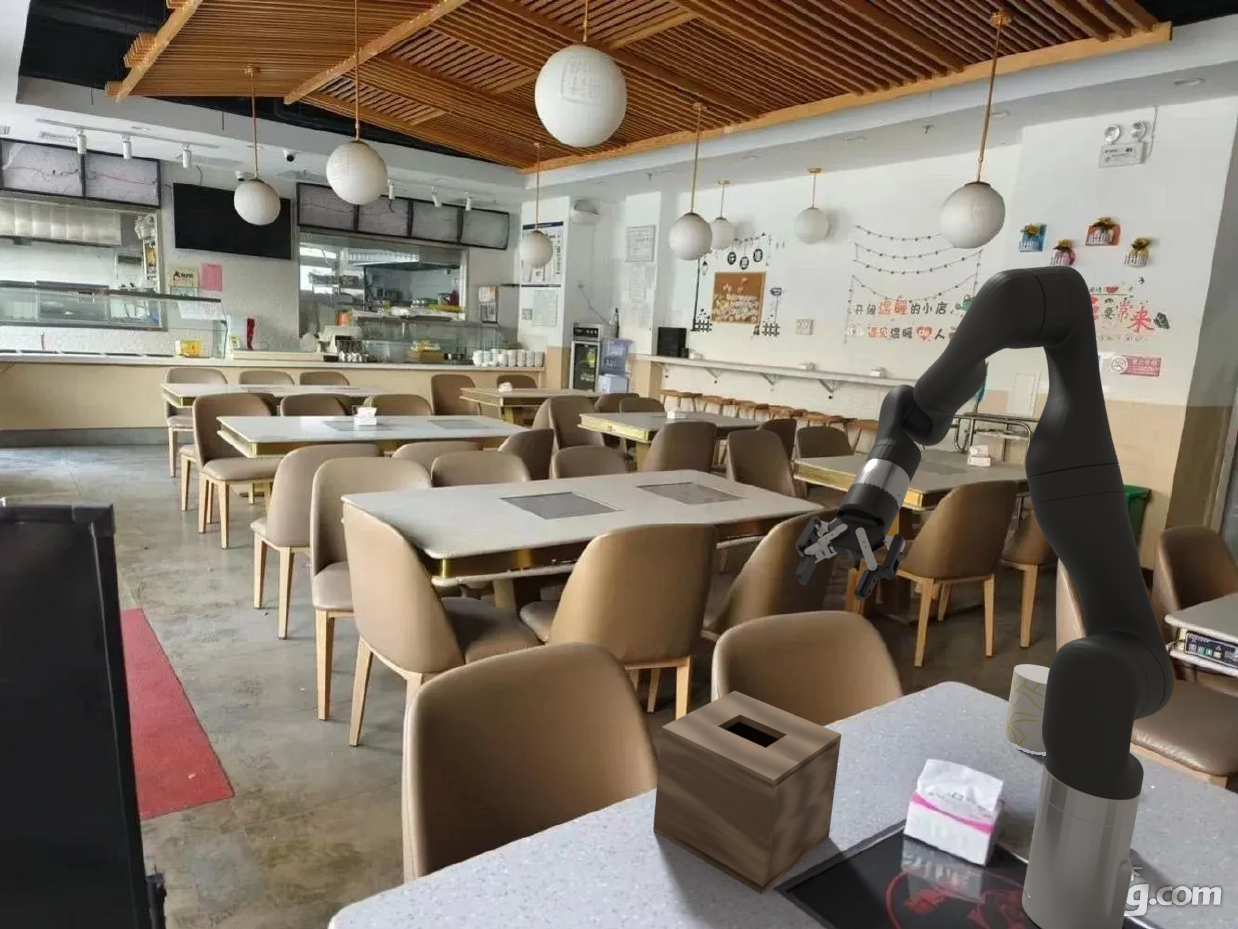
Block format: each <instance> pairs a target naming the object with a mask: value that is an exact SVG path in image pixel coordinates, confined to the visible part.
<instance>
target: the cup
mask: <svg viewBox="0 0 1238 929" xmlns="http://www.w3.org/2000/svg"><path fill="white" fill-rule="evenodd" d="M1049 669H1050V667H1047V666H1044V665H1043V666H1042V665H1037V664H1028V663H1024V664H1023V663H1022V664H1017V665H1015V666H1014V668H1013V674H1012V679H1011V686H1010V692H1009V693H1010V694H1009V698H1008V705H1007V712H1006V719H1005V724H1004V730H1003V736H1004V735H1005V737H1006V738H1007V739H1008V740H1009V741H1010V742H1011V743H1014V744H1017V745H1018V746H1020V747H1022V748H1025V749H1028V750H1030V751H1035V752H1046V750H1045V746H1044V743H1043V738H1042V722H1043V713H1044V704H1045V694H1046V686H1047V679H1048V673H1049Z"/></svg>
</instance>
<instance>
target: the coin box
mask: <svg viewBox="0 0 1238 929" xmlns="http://www.w3.org/2000/svg"><path fill="white" fill-rule="evenodd" d="M660 731H661V732H660V742H659V743H660V745H659V758H658V768H657V778H656V780H657V782H656V791H655V805H654V817H653V827H652V829H653V831H654V832H655V833H657V834H658V835H660V836H662V837H664V838H666V839H667V840H668V841H671V842H672V843H674V844H675V845H677V846H679V847H681V848H682V849H685V851H687V852H689V853H691V854H692V855H694V856H696V857H697V858H699V859H701V860H702V861H705V862H706V863H708V864H710V865H711V866H713V867H715V868H716V869H718V870H720V872H721V871H722V872H723V873H725V874H727V875H728V876H730V877H731V878H734V879H735V880H736V881H738V882H740V883H742V884H744V885H746V886H747V887H748V888H750V889H752V890H754V891H755V892H757V893H759V894H760V895H762V894H763V893H765V892H766V891H767V890H768V889H769V888H770V887H772V886H773V885H774V884H775V883H777V882H778V881H779V880H780V879H781V878H782V877H783V876H784V875H786V874H787V873H788V872H789V871H790V870H792V869H793V868H794V867H795V866H796V865H797V864H798V863H800V862H801V861H802V860H803V859H804V858H805V857H806V856H808V855H809V854H810V853H812V852H813V851H814V850H815V849H816V848H817V847H818V846H819V845H820V844H822V843H823V842H824V841H825V840H826V839H827V838H828V837H830V830H831V822H832V815H833V813H832V812H833V807H834V797H835V789H836V782H837V780H836V779H837V774H838V773H837V771H838V765H839V757H840V756H839V755H840V749H841V748H840V747H841V741H842V740H841V739H842V733H840V732H837V731H835V730H832V729H830V728H828V727H825V726H822V725H820V724H818V723H815V722H813V721H810V720H808V719H805V718H803V717H800V716H797V715H795V714H793V713H791V712H788V711H786V710H783V709H782V708H781V709H780V708H778V707H775V706H773V705H771V704H768V703H766V702H764V701H762V700H759V699H756V698H755V697H751V696H749V695H747V694H744V693H742V692H740V691H736V690H734V691H732V692H730V693H727V694H726V695H723V696H722V697H719V698H717V699H715V700H713V701H711V702H709V703H707V704H705V705H703V706H701V707H699V708H697V709H695V710H693V711H691V712H688V713H686V714H685V715H683V716H681V717H679V718H677V719H675V720H672V721H671V722H669V723H667V724H665V725H662V726H661V730H660Z"/></svg>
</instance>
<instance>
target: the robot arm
mask: <svg viewBox="0 0 1238 929" xmlns="http://www.w3.org/2000/svg"><path fill="white" fill-rule="evenodd" d="M963 315H964V316H962V319H961V321H960V322H959V324H958V326H957V327H956V329H955V331H954V334H953V336H951V339H950V340H949V343H948V344H947V345H946V348H945V349H944V351H943V352H942V353H941V354H940V355H939V356H938V358H937V359H936V360H935V361H934V362H933V363H932V364H931V365H930V366H929V367H928V368H927V369H926V371H924V372H923V373H922V375H921V376H920V377H919V378H918V379H917V381H916V382H915V384H914V386H912V385H909V384H906V383H905V384H899V385H896V386H894V387H892V388H891V389H890V390H889V391H888V392H887V394H885V396H884V398H883V400H882V402H881V406H880V409H879V416H878V424H877V432H876V436H875V440H874V443H873V445H872V447H871V450H870V452H869V454H868V455H867V458H866V460H865V461H864V463H863V465H862V466H861V467H860V469H859V471H857V474H855V477H854V478H853V481H852V483H851V484H850V486H849V489H848V490H847V492H846V494H845V496H844V498H843V499H842V502H840V505H839V508H838V510H837V513H836V515H835V518H834V519H832V521H829V522H827V521H823V520H821V519H820V517H819V516H818V515H814V516H812V517H811V518H810V520H809V521H808V523H807V524H806V526H805V528H804V530H802V533H801V534H800V536H799V538H798V539H797V540H796V542H795V545H794V546H795V548H796V550H797V552H798V555H799V556H800V557H801V558H802V559H801V560H800V563H799V565H798V566H797V568H796V570H795V575H796V578H797V581H798V583H799V585H803V586H806V585H807V584H808V583H809V580H810V578H811V576H812V574H813V572H814V570H815V569H816V567H817V565H816V564H817V563H819V562H821V561H822V560H824V559H831V558H832V557H834V556H836V555H837V556H840V557H845V558H846V557H847V558H848V557H849V558H851V559H853V560H855V561H860V560H862V559H864V560H865V563H866V565H867V566H866V567H867V570H866V569H864V570H863V572H862V574H861V577H860V578H859V580H858V582H857V585H856V587H855V589H854V593H853V594H854V597H855V599H856V601H860V602H863V601H864V600H865V599H868V598H869V597H870V596H871V594H872V592H873V589H874V587H875V586H876V584H877V582H878V581H879V580H880V579H887V580H889V581H890V580H891V581H892V580H894V579H895V578H896V576H897V573H898V570H899V568H900V565H901V564H902V560H903V558H904V556H905V552H906V550H907V544H906V541H905V538H904V536H903V534H902V533H896V534H894V535H888V534H889V532H890V530H891V528H892V526H893V523H894V521H895V520H896V517H897V515H898V514H899V511H900V510H901V508H902V506H903V504H904V502H905V498H906V497H907V493H908V491H909V490H908V489H909V486H910V484H911V482H912V480H913V478H914V476H915V474H916V472H917V470H918V467H919V465H920V463H921V460H922V451H921V450H920V447H919V446H918V445H921V446H923V447H932V446H937V445H938V444H939V443H941V442H942V441H944V440H945V438H946V436H947V435H948V433H949V431H950V429H951V427H952V424H953V421H954V418H955V415H956V414H957V412H958V411H959V410H960V409H962V407H963V406H965V405H966V404H967V403H968V402H969V401H971V399H972V398H974V396H975V395H976V394H978V392H979V391H980V390H981V388H982V387H983V385H984V383H985V381H986V377H987V372H988V370H987V367H988V366H987V361H986V359H988V358H989V357H991V356H992V355H994V354H996V353H998V352H999V351H1003V350H1005V349H1008V350H1009V349H1010V350H1022V349H1033V348H1043V352H1044V354H1045V358H1046V363H1047V374H1048V393H1047V396H1046V401H1045V404H1044V407H1043V410H1042V412H1041V415H1040V417H1039V419H1038V422H1037V425H1036V427H1035V428H1034V431H1033V434H1032V436H1031V439H1030V442H1029V444H1028V447H1027V450H1026V455H1025V462H1024V469H1025V475H1026V479H1027V485H1028V489H1029V495H1030V499H1031V504H1032V510H1033V513H1034V517H1035V520H1036V523H1037V525H1038V527H1039V529H1040V531H1041V532H1042V533H1041V534H1043V536H1044V538H1045V540H1046V542H1048V544H1049V546H1050V547H1051V548H1052V549H1053V552H1054V553H1055V555H1056V557H1058V560H1060V562H1061V564H1063V567H1064V569H1066V571H1067V573H1068V574H1069V576H1070V577H1071V580H1072V581H1073V583H1074V586H1075V588H1076V591H1077V594H1078V598H1079V600H1080V605H1081V610H1082V614H1083V619H1084V626H1085V633H1086V634H1085V636H1084V637H1081V638H1076V639H1073V640H1070V641H1068V642H1066V643H1065V644H1063V645H1061V646H1060V648H1058V650H1057V651H1056V653H1055V654H1054V656H1053V658H1052V660H1051V662H1050V666H1049V668H1050V669H1049V673H1048V679H1047V686H1046V694H1045V704H1044V713H1043V722H1042V738H1043V743H1044V746H1045V750H1046V757H1045V756H1044V766H1043V769H1042V770H1043V771H1042V777H1041V783H1040V789H1039V794H1038V801H1037V807H1036V812H1035V819H1034V825H1033V831H1032V837H1031V843H1030V848H1029V849H1030V850H1029V855H1028V862H1027V865H1026V866H1027V867H1026V874H1025V880H1024V883H1023V890H1022V891H1023V892H1022V898H1021V905H1022V907H1023V908H1022V909H1023V910H1024V912H1025V913H1026V915H1027V917H1028V918H1030V920H1032V922H1033V923H1034V924H1035V925H1037V926H1038V927H1039V928H1040V929H1123V924H1124V923H1123V922H1124V917H1125V913H1126V906H1127V901H1128V897H1129V892H1130V885H1131V880H1132V875H1133V868H1134V867H1133V865H1132V862H1131V859H1130V852H1131V851H1130V850H1131V844H1132V841H1133V840H1132V839H1133V834H1134V830H1135V825H1136V824H1135V823H1136V818H1137V815H1138V814H1137V812H1138V808H1139V802H1140V797H1141V791H1142V787H1143V781H1144V775H1145V774H1144V773H1145V772H1144V768H1143V767H1144V766H1143V765H1142V763H1141V761H1140V760H1139V759H1138V758H1137V757H1136V756H1135V755H1134V754H1133V753H1131V752H1130V751H1131V743H1132V735H1133V728H1134V723H1135V721H1137V720H1140V719H1143V718H1146V717H1149V716H1151V715H1154V714H1156V713H1158V712H1160V711H1161V710H1162V709H1163V708H1164V707H1166V706H1167V705H1168V703H1169V701H1170V699H1171V697H1172V695H1173V691H1174V686H1175V684H1174V681H1175V679H1174V671H1173V666H1172V662H1171V659H1170V656H1169V655H1170V654H1169V652H1168V649H1167V645H1166V643H1165V640H1164V637H1163V635H1162V631H1161V628H1160V626H1159V623H1158V620H1157V618H1156V615H1155V611H1154V608H1153V605H1152V603H1151V600H1150V596H1149V594H1148V591H1147V587H1146V584H1145V583H1146V582H1145V579H1144V575H1143V571H1142V566H1141V560H1140V557H1139V551H1138V548H1137V543H1136V539H1135V534H1134V531H1133V527H1132V523H1131V522H1132V521H1131V519H1130V513H1129V508H1128V507H1129V506H1128V501H1127V495H1126V488H1125V485H1124V481H1123V476H1122V472H1121V467H1120V462H1119V459H1118V456H1117V452H1116V448H1115V444H1114V441H1113V436H1112V432H1111V427H1110V422H1109V417H1108V412H1107V408H1106V401H1105V395H1104V389H1103V386H1102V378H1101V370H1100V362H1099V361H1100V360H1099V352H1098V342H1097V341H1098V340H1097V331H1096V322H1095V316H1094V315H1095V314H1094V308H1093V303H1092V297H1091V293H1090V290H1089V286H1088V284H1087V282H1086V280H1085V279H1084V276H1083V275H1082V274H1081V273H1080V272H1079V271H1078V270H1076V268H1074V267H1071V266H1068V265H1051V266H1050V265H1049V266H1048V265H1047V266H1038V267H1036V266H1035V267H1025V268H1023V267H1022V268H1012V269H1006V270H1001V271H998V272H996V273H995V274H993V275H991V276H990V277H989V278H988V279H987V280H986V281H984V283H983V284H982V285H981V287H980V289H979V290H978V291H977V293H976V294H975V296H974V298H973V299H972V301H971V303H970V305H969V306H968V308H967V310H966V312H965V314H963ZM824 533H826V534H824ZM830 543H831V544H830ZM829 544H830V545H831V546H829V547H828V545H829ZM885 546H886V548H887V552H886V554H885V555H886V556H885V557H884V560H883V563H882V564H878V563H877V560H876V558H875V554H874V553H875V552H877V551H878V550H880V549H882V548H884V547H885Z"/></svg>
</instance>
